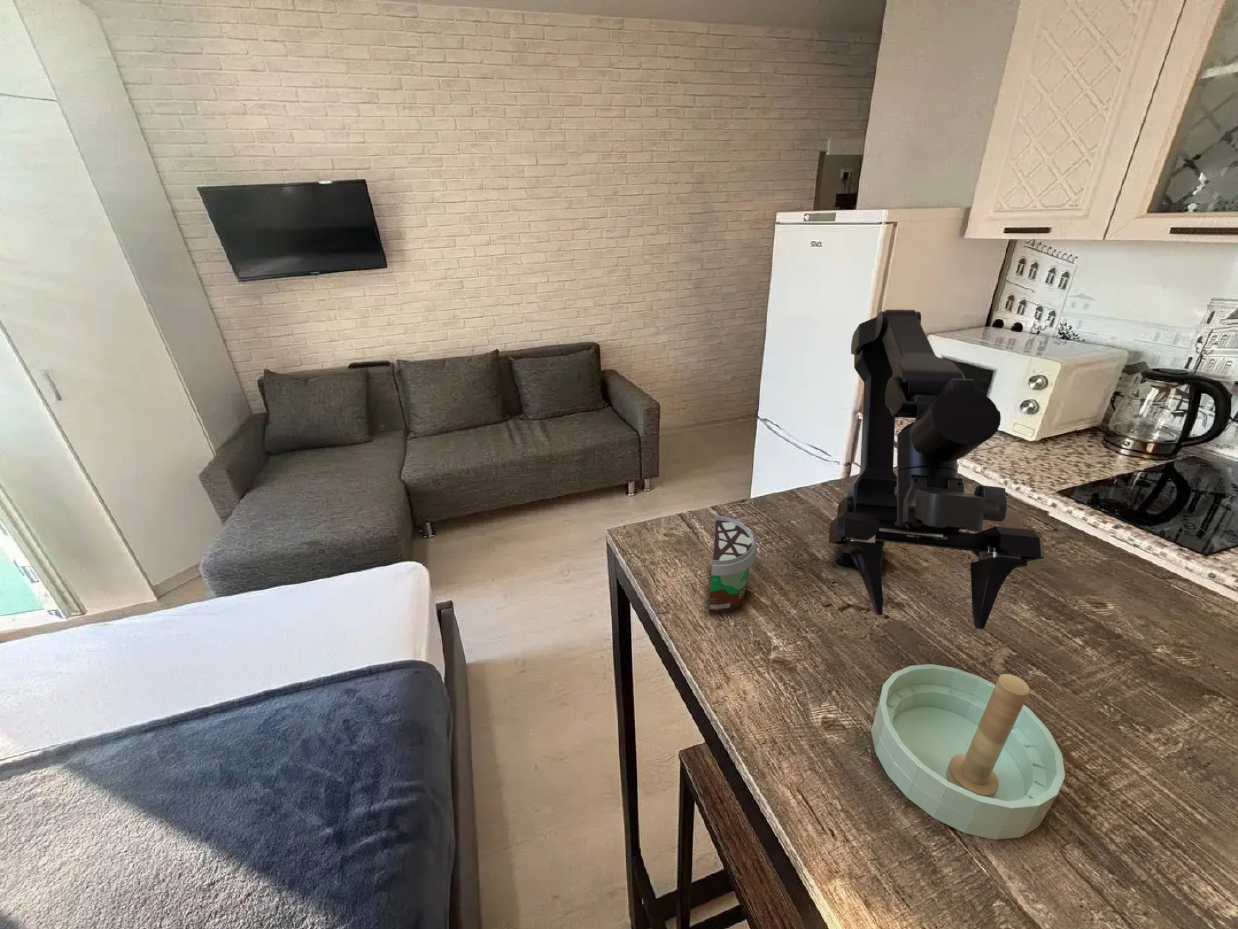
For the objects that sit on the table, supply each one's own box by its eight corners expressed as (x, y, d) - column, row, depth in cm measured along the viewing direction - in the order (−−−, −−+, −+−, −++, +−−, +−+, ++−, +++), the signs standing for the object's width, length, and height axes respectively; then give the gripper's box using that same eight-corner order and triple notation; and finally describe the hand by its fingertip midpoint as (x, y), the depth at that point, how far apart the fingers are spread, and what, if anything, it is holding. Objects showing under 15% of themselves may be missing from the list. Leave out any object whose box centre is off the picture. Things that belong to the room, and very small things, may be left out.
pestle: (947, 756, 53) (986, 658, 46) (993, 776, 51) (1041, 677, 44) (945, 790, 50) (986, 691, 43) (994, 812, 48) (1045, 712, 41)
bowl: (881, 678, 62) (891, 645, 60) (1037, 737, 55) (1055, 702, 52) (859, 786, 51) (869, 751, 48) (1051, 880, 43) (1075, 844, 41)
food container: (753, 625, 71) (759, 567, 66) (708, 620, 72) (711, 563, 67) (751, 569, 81) (756, 516, 77) (712, 565, 83) (715, 513, 78)
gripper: (850, 444, 50) (846, 606, 46) (1073, 459, 46) (1089, 639, 42) (830, 474, 61) (825, 608, 57) (1010, 489, 56) (1018, 635, 52)
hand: (928, 621), depth 52 cm, fingers open, 9 cm apart
